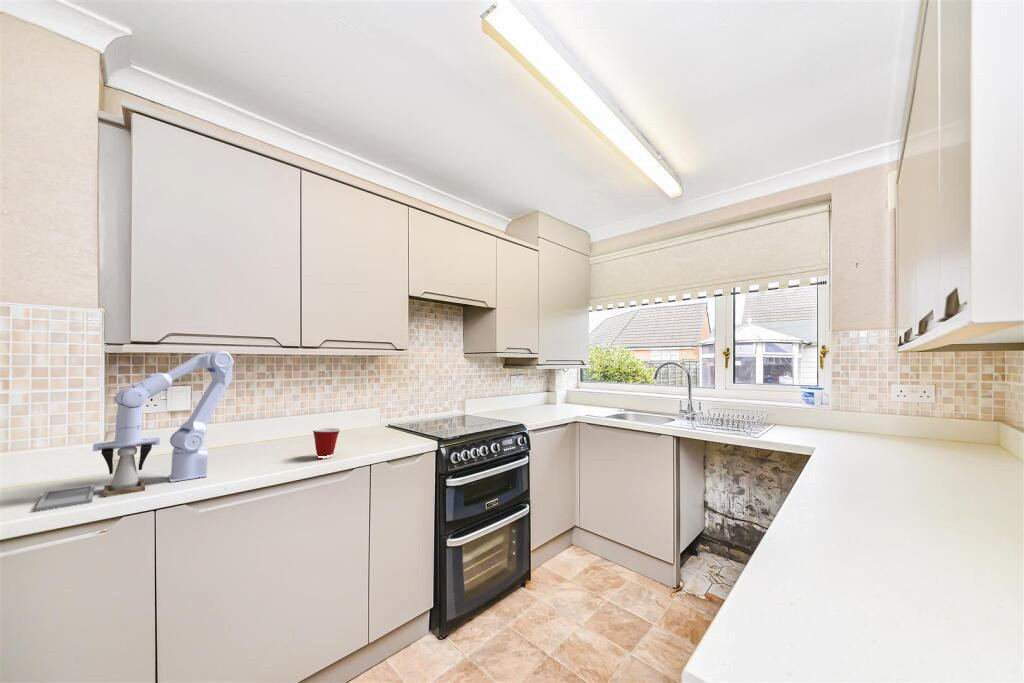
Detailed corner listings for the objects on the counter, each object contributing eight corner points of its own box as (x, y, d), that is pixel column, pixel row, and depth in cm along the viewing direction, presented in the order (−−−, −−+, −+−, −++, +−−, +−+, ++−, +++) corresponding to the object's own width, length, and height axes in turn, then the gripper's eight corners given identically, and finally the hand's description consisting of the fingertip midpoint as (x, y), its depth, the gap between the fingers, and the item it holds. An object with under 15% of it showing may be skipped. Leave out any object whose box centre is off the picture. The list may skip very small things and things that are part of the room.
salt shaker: (120, 494, 115) (123, 449, 116) (105, 492, 117) (108, 448, 117) (142, 487, 121) (145, 445, 122) (128, 486, 122) (131, 444, 123)
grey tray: (94, 487, 120) (95, 484, 120) (91, 502, 109) (92, 498, 109) (44, 495, 113) (44, 491, 113) (35, 511, 102) (35, 507, 102)
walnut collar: (143, 483, 125) (144, 479, 125) (144, 490, 119) (145, 486, 119) (104, 489, 119) (104, 485, 119) (103, 497, 113) (103, 493, 113)
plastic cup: (345, 455, 166) (346, 427, 167) (327, 461, 156) (328, 431, 156) (323, 453, 169) (324, 425, 169) (304, 459, 158) (306, 429, 159)
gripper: (159, 422, 128) (157, 464, 127) (95, 427, 117) (91, 472, 117) (161, 425, 123) (158, 469, 122) (93, 430, 112) (90, 478, 112)
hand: (125, 471), depth 119 cm, fingers open, 6 cm apart
